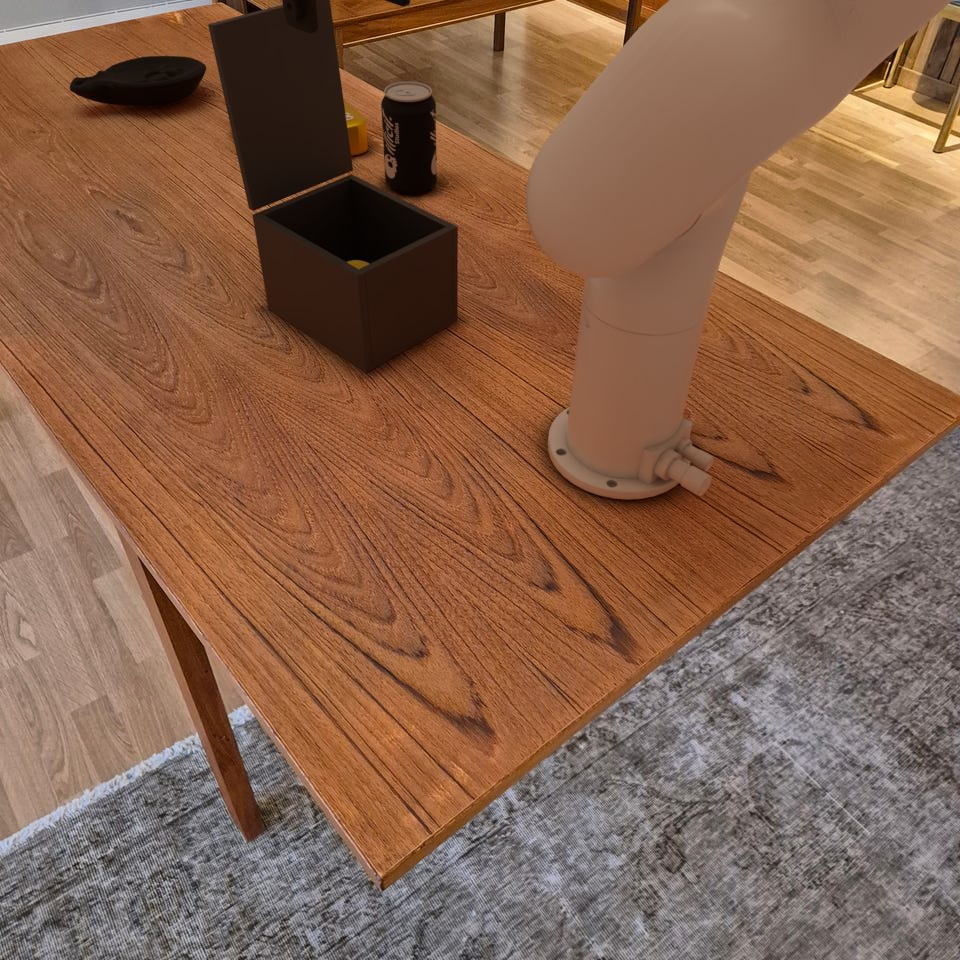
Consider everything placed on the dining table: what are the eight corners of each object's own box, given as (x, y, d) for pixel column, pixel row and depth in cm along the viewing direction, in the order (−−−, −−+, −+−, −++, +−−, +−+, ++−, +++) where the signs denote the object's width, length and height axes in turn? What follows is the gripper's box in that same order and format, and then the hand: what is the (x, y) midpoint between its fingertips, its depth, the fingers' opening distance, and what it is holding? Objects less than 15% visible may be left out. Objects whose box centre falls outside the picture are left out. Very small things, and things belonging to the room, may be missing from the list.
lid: (329, -6, 81) (295, -13, 84) (212, 25, 75) (180, 16, 78) (353, 170, 92) (322, 159, 95) (253, 211, 85) (223, 197, 88)
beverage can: (430, 200, 112) (428, 103, 103) (379, 194, 113) (373, 97, 104) (442, 177, 116) (441, 82, 108) (393, 171, 117) (388, 77, 109)
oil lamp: (65, 96, 133) (55, 62, 129) (193, 74, 140) (187, 41, 137) (89, 133, 124) (78, 97, 120) (225, 108, 131) (218, 73, 128)
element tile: (231, 132, 125) (225, 97, 122) (331, 113, 130) (327, 79, 127) (268, 175, 116) (262, 139, 112) (373, 152, 121) (371, 117, 118)
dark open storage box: (457, 321, 93) (458, 226, 85) (366, 373, 86) (357, 275, 78) (359, 265, 100) (351, 173, 93) (268, 309, 94) (251, 214, 86)
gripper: (258, -247, 53) (293, 53, 65) (459, -262, 63) (458, 3, 75) (187, -258, 57) (233, 28, 69) (387, -271, 66) (397, -17, 78)
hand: (350, 15), depth 72 cm, fingers open, 9 cm apart
